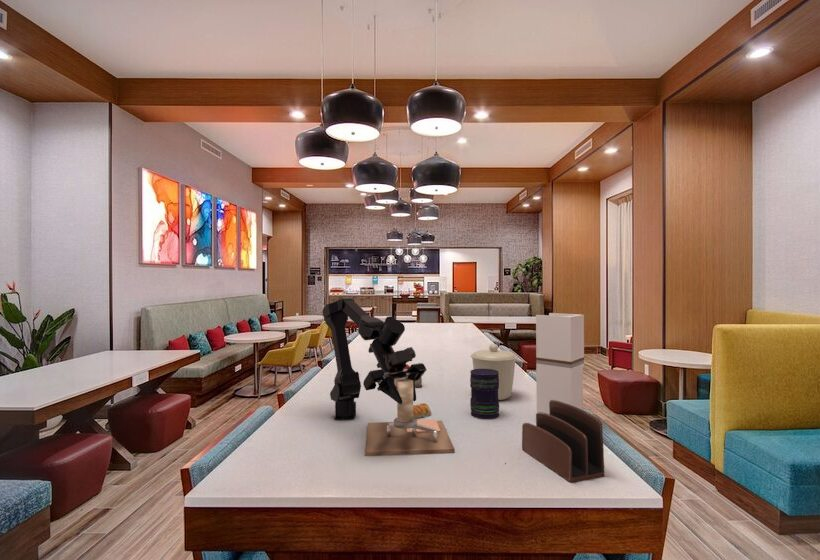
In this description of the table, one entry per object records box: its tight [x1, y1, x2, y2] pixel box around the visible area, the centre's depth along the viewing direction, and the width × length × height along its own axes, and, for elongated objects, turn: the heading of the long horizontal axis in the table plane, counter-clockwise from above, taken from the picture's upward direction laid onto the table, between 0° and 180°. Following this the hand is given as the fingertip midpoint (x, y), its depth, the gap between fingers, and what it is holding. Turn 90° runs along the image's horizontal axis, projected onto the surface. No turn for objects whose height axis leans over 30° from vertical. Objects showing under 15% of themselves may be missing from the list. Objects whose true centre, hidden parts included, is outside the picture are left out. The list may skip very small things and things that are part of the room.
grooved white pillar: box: [535, 312, 585, 414], centre depth 136 cm, size 11×11×35 cm
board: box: [364, 420, 455, 457], centre depth 123 cm, size 24×23×1 cm
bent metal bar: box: [387, 423, 437, 443], centre depth 121 cm, size 15×4×4 cm, turn 71°
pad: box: [406, 419, 440, 433], centre depth 130 cm, size 10×10×1 cm
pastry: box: [413, 402, 432, 419], centre depth 144 cm, size 9×7×4 cm
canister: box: [470, 343, 518, 401], centre depth 166 cm, size 18×18×21 cm
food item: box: [394, 364, 423, 388], centre depth 183 cm, size 14×8×10 cm, turn 100°
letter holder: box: [521, 400, 605, 483], centre depth 107 cm, size 10×20×14 cm, turn 18°
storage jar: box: [469, 368, 500, 420], centre depth 144 cm, size 10×10×15 cm
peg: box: [393, 379, 418, 429], centre depth 115 cm, size 6×6×12 cm
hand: (408, 401), depth 114 cm, fingers closed on peg, 4 cm apart
